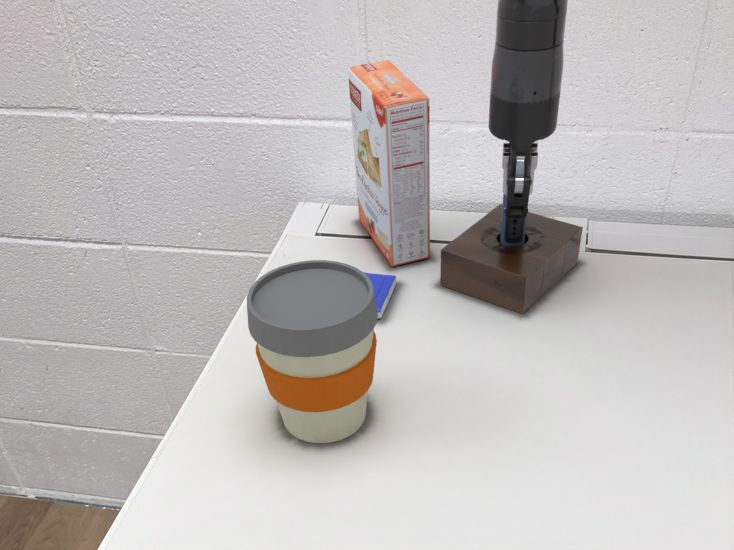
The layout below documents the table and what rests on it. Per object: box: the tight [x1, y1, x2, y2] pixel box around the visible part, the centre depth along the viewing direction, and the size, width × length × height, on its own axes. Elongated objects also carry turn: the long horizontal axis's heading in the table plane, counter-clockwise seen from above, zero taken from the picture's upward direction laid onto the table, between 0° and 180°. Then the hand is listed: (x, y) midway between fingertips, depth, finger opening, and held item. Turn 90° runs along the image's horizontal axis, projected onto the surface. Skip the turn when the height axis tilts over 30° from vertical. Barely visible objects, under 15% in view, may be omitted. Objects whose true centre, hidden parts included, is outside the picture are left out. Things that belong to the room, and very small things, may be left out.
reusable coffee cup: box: [246, 259, 379, 444], centre depth 81 cm, size 13×13×15 cm
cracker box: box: [347, 59, 431, 268], centre depth 103 cm, size 14×6×21 cm, turn 18°
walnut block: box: [439, 203, 584, 315], centre depth 101 cm, size 14×12×5 cm
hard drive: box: [364, 272, 397, 320], centre depth 101 cm, size 2×8×12 cm
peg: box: [500, 194, 527, 247], centre depth 99 cm, size 3×3×9 cm
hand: (513, 233), depth 99 cm, fingers closed on peg, 3 cm apart
